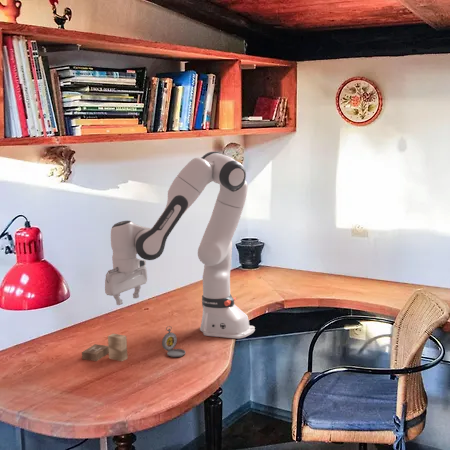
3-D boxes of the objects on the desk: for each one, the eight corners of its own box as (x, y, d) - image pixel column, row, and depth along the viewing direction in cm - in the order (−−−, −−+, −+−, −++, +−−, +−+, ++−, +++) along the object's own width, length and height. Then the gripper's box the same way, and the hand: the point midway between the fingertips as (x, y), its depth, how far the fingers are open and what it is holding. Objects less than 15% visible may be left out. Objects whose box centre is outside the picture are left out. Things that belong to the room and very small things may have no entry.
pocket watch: (183, 358, 221) (182, 331, 220) (160, 357, 223) (159, 330, 221) (188, 350, 229) (187, 324, 228) (166, 349, 231) (165, 323, 229)
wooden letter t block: (127, 358, 223) (126, 335, 221) (122, 361, 220) (120, 338, 219) (114, 355, 226) (113, 333, 224) (109, 358, 223) (107, 335, 222)
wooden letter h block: (108, 345, 228) (96, 354, 220) (109, 353, 229) (96, 362, 221) (94, 344, 230) (81, 352, 222) (95, 351, 231) (82, 360, 223)
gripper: (112, 271, 218) (115, 309, 220) (148, 259, 235) (151, 295, 237) (99, 270, 221) (102, 307, 223) (135, 258, 238) (138, 293, 241)
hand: (128, 301), depth 231 cm, fingers open, 8 cm apart
